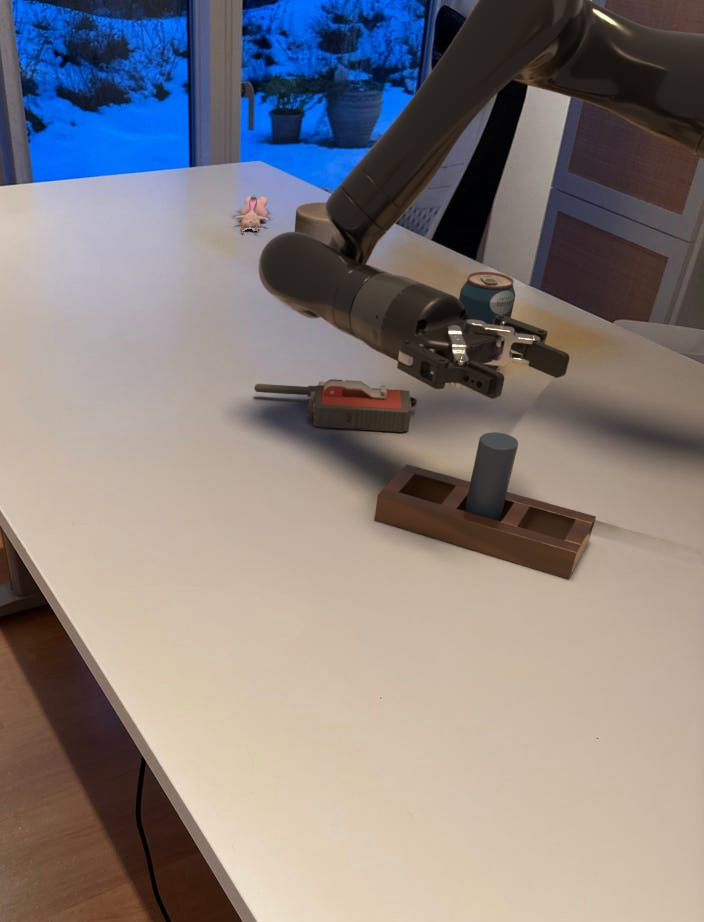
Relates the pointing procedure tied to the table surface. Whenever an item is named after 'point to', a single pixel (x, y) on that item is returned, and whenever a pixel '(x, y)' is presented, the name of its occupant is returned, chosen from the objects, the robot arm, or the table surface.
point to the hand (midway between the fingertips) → (533, 377)
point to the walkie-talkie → (352, 405)
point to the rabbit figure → (253, 212)
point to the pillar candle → (314, 222)
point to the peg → (491, 475)
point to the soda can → (488, 299)
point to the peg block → (486, 521)
